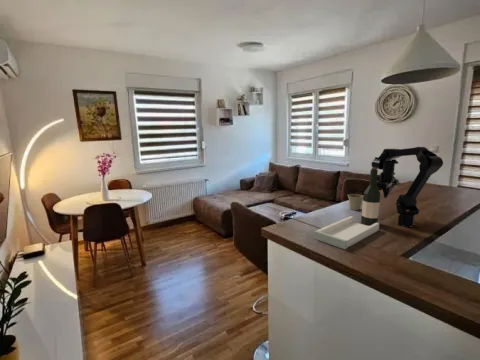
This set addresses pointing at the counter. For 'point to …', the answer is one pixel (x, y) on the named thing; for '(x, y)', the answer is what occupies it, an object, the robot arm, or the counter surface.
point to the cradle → (345, 233)
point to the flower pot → (355, 201)
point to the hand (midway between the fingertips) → (385, 197)
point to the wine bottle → (371, 201)
